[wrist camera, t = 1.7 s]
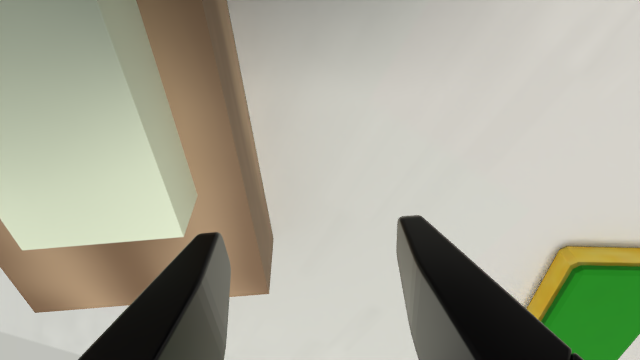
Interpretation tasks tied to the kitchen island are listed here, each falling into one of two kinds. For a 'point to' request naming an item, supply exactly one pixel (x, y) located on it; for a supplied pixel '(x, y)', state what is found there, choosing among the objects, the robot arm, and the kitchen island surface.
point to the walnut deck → (205, 167)
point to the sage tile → (86, 128)
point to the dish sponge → (592, 300)
